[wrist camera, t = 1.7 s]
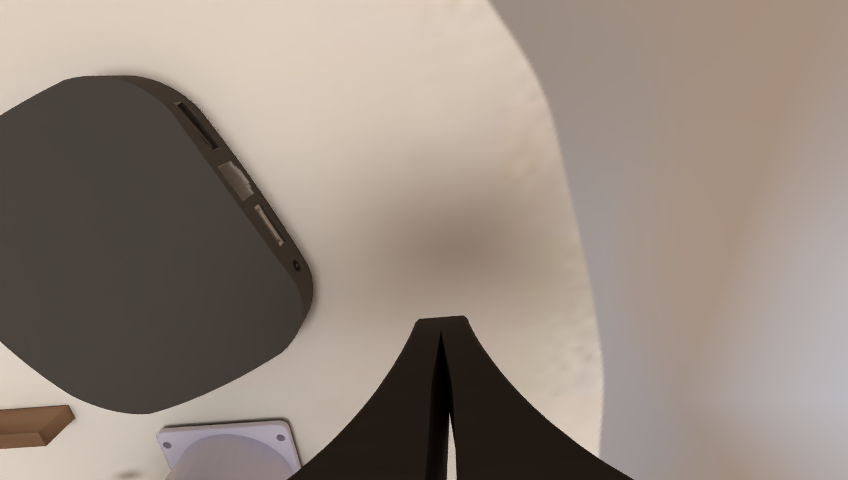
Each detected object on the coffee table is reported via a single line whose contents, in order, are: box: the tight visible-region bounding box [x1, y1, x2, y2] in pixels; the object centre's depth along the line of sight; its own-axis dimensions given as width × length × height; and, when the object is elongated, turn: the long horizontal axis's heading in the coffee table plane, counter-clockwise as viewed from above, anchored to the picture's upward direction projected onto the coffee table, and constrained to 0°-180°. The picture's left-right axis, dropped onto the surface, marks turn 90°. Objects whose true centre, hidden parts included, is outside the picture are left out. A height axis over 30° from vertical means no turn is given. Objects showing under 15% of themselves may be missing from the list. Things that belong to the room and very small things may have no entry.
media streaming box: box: [0, 76, 313, 414], centre depth 20 cm, size 15×15×3 cm
